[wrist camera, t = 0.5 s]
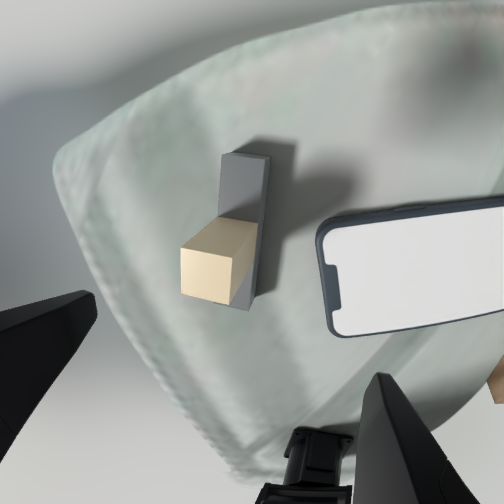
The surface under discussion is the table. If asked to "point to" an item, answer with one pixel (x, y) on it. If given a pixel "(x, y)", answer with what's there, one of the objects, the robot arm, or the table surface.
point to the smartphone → (412, 266)
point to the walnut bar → (497, 382)
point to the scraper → (230, 236)
